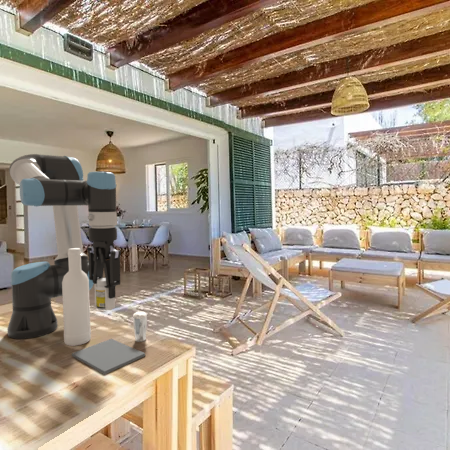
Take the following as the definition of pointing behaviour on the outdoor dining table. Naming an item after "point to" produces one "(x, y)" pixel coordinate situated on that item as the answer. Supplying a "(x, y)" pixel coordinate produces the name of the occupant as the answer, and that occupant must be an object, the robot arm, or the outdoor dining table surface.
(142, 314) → the milkshake
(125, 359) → the slate mat
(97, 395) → the outdoor dining table surface
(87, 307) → the bottle
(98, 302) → the supplement bottle
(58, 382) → the outdoor dining table surface
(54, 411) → the outdoor dining table surface
